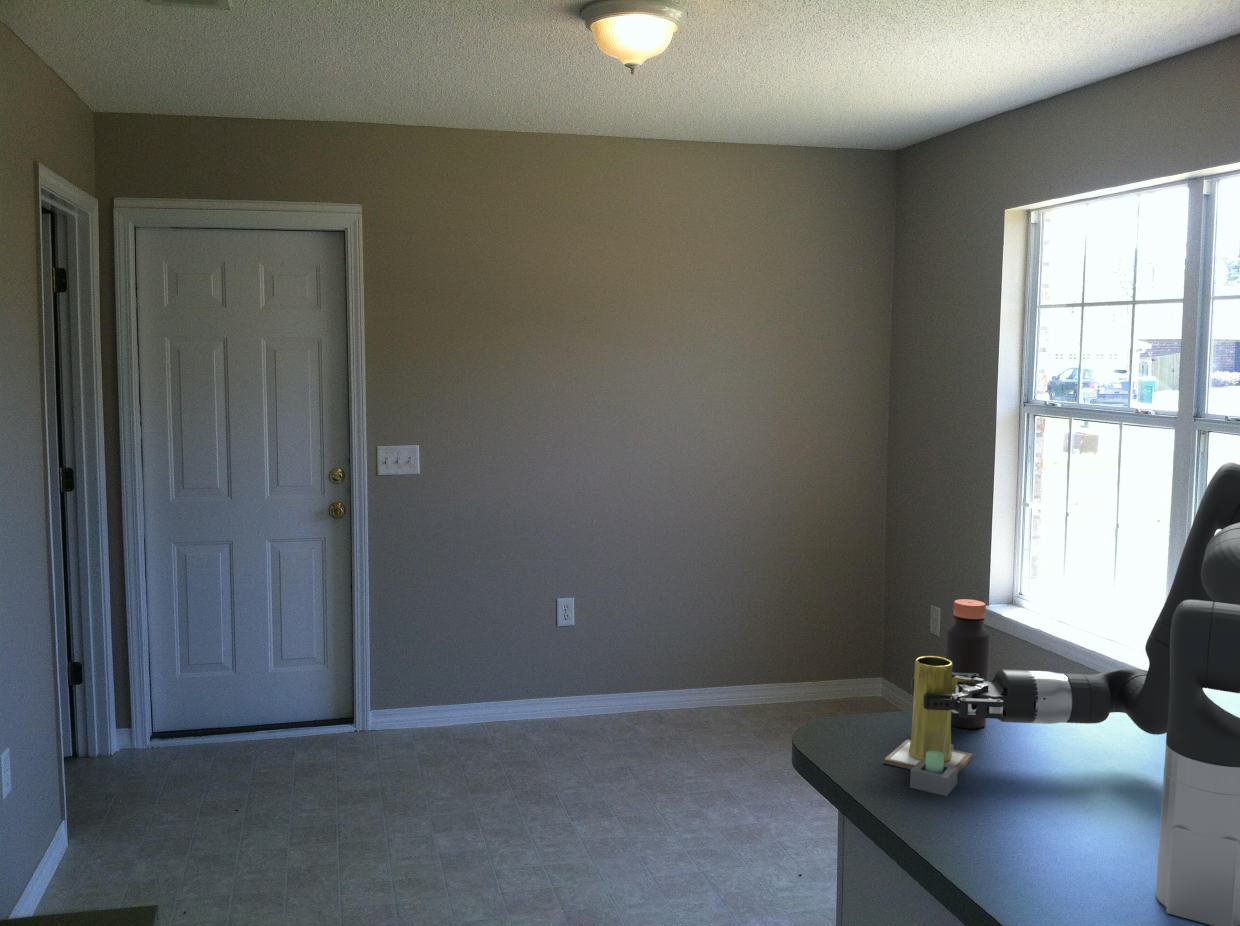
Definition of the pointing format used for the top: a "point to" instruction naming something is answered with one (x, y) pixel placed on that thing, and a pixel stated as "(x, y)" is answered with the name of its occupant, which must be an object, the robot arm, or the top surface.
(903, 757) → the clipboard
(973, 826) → the top surface
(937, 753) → the button
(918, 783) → the button housing
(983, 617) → the bottle
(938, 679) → the vase
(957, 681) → the robot arm
